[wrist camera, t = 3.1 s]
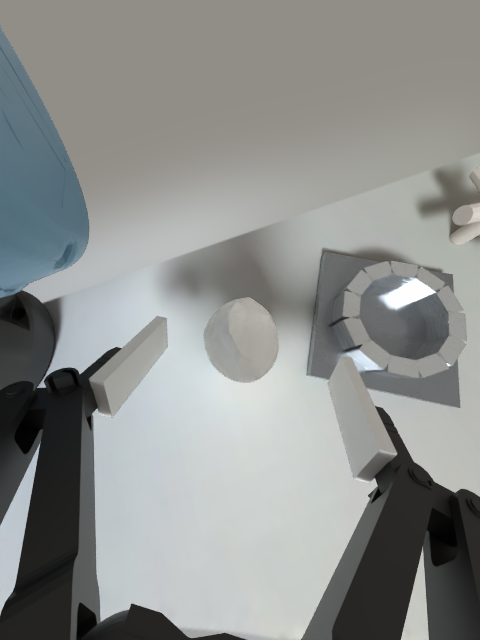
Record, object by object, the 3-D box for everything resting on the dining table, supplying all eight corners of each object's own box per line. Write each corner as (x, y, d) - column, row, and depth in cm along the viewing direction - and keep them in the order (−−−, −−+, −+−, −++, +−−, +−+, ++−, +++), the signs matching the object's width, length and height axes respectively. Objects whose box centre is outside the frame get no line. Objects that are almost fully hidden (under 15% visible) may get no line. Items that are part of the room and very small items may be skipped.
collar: (306, 375, 22) (319, 375, 18) (321, 257, 25) (334, 237, 22) (447, 406, 21) (490, 412, 17) (442, 279, 24) (477, 262, 21)
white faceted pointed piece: (313, 370, 10) (198, 398, 10) (275, 373, 22) (222, 386, 21) (279, 261, 12) (179, 283, 11) (260, 319, 23) (210, 330, 23)
